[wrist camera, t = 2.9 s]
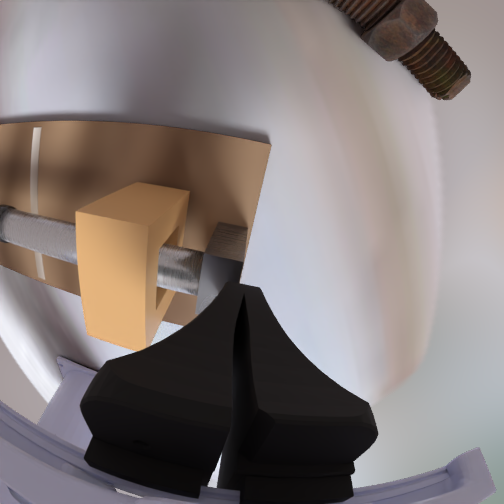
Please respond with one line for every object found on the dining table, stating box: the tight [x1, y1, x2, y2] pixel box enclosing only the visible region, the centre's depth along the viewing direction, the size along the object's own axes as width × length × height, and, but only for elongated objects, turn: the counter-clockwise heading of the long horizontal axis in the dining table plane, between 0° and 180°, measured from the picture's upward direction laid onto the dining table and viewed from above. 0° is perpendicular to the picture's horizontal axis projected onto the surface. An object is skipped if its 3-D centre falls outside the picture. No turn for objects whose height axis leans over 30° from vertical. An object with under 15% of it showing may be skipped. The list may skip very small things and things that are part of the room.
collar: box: [76, 182, 190, 351], centre depth 12 cm, size 3×6×6 cm, turn 168°
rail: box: [0, 204, 248, 315], centre depth 13 cm, size 22×3×5 cm, turn 78°
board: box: [0, 121, 271, 326], centre depth 15 cm, size 22×12×1 cm, turn 78°
